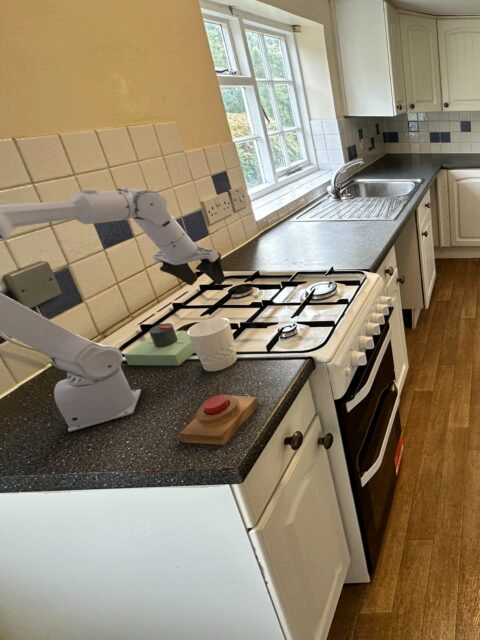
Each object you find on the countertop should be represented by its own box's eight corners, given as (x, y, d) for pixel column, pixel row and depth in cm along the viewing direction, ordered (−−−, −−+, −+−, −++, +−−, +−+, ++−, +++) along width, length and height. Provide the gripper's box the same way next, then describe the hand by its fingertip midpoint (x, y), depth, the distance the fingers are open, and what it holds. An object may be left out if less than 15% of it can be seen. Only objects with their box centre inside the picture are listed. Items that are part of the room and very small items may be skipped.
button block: (224, 445, 75) (218, 428, 73) (182, 442, 75) (175, 425, 74) (259, 405, 84) (254, 389, 82) (222, 403, 84) (216, 388, 83)
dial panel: (128, 365, 96) (123, 353, 95) (162, 340, 105) (158, 330, 104) (178, 365, 96) (174, 354, 95) (208, 341, 105) (205, 330, 104)
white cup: (208, 378, 92) (194, 340, 88) (195, 364, 96) (181, 328, 92) (246, 360, 97) (235, 324, 94) (232, 348, 102) (221, 313, 98)
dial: (149, 347, 97) (143, 332, 96) (164, 336, 101) (158, 321, 100) (168, 347, 97) (162, 332, 96) (182, 337, 101) (176, 322, 100)
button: (220, 416, 76) (217, 408, 76) (201, 415, 77) (198, 407, 76) (233, 402, 80) (231, 395, 79) (215, 401, 80) (213, 394, 79)
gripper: (211, 225, 91) (244, 269, 100) (155, 227, 93) (192, 271, 102) (190, 246, 86) (227, 291, 95) (130, 248, 88) (172, 291, 97)
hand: (207, 282), depth 98 cm, fingers open, 7 cm apart
